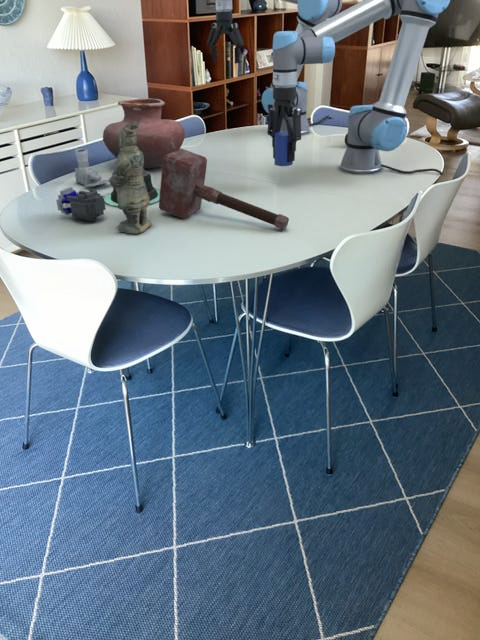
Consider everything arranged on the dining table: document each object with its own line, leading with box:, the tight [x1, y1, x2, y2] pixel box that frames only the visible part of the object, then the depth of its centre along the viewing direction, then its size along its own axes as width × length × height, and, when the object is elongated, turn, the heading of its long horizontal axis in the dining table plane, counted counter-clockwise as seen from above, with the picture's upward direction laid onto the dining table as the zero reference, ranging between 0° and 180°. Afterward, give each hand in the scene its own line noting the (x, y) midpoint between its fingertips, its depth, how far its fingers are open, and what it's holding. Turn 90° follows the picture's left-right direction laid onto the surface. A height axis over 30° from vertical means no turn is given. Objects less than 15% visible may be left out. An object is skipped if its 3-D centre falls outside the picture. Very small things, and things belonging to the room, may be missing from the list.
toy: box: [56, 186, 107, 222], centre depth 168 cm, size 9×9×15 cm
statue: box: [108, 121, 153, 235], centre depth 154 cm, size 11×9×30 cm
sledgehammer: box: [158, 148, 290, 231], centre depth 163 cm, size 17×10×40 cm
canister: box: [274, 132, 294, 167], centre depth 186 cm, size 6×6×10 cm
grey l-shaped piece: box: [74, 148, 110, 188], centre depth 197 cm, size 9×12×15 cm
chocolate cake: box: [103, 168, 160, 207], centre depth 186 cm, size 15×19×20 cm
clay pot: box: [102, 98, 186, 169], centre depth 213 cm, size 30×30×25 cm
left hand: (225, 62), depth 261 cm, fingers open, 13 cm apart
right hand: (283, 159), depth 188 cm, fingers closed on canister, 6 cm apart
